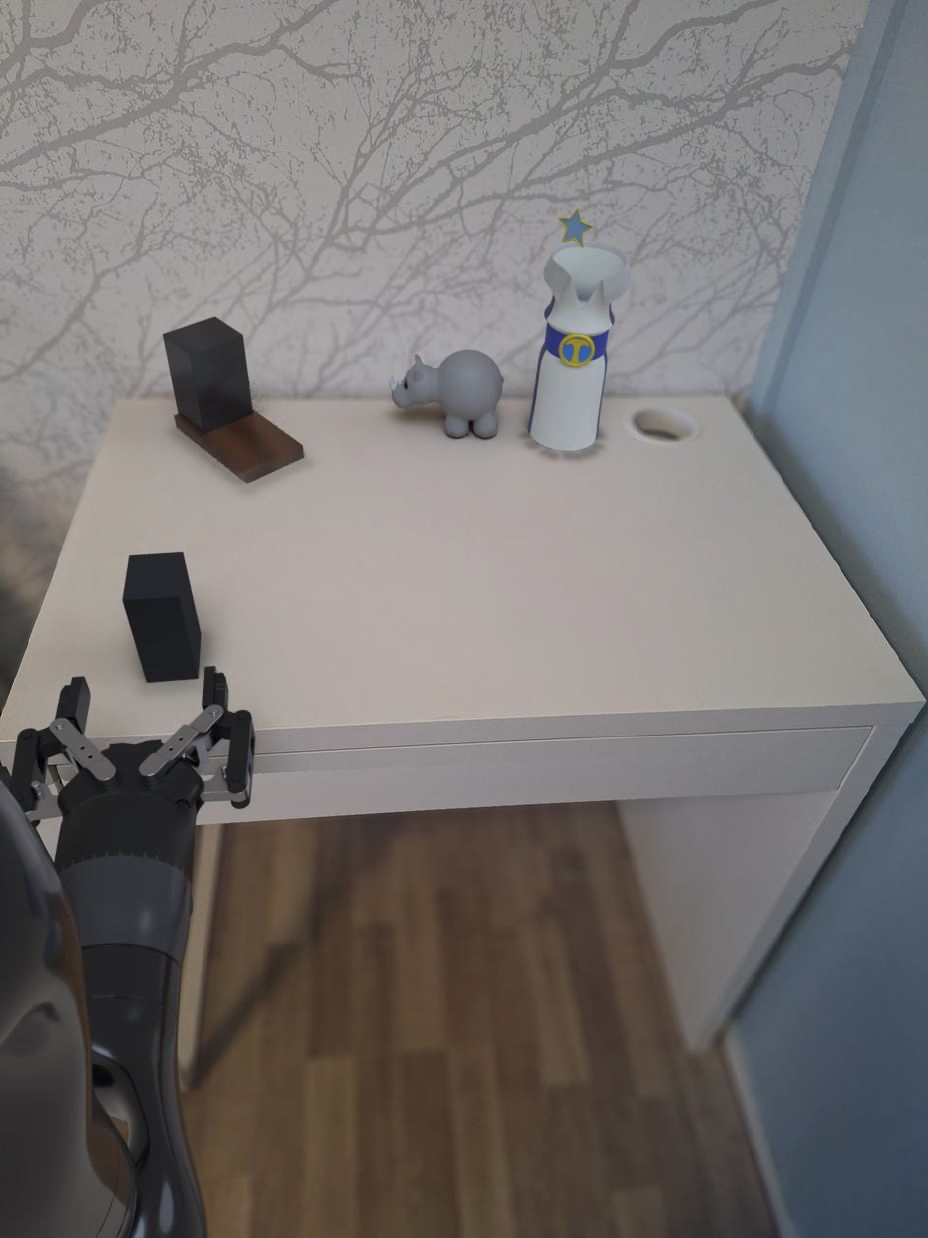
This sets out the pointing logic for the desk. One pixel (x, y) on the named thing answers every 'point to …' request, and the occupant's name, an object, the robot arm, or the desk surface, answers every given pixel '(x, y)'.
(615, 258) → the white piece
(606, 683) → the desk surface
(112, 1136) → the robot arm
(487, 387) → the round bodied animal figurine
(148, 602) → the black rectangular block
